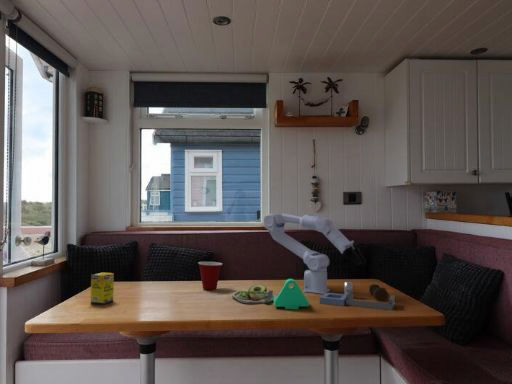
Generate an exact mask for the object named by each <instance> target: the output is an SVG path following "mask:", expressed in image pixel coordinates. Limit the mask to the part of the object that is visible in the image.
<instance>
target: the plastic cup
mask: <svg viewBox="0 0 512 384" xmlns="http://www.w3.org/2000/svg"><path fill="white" fill-rule="evenodd" d="M197 263H198V266H199V267H198V268H199V273H200V277H201V278H200V279H201V284H202V289H203V291H206V292H209V291H210V292H213V291H216V290H217V287H218V282H219V279H220V278H219V277H220V271H221V268H222V266H223V263H222V262H216V261H199V262H197Z"/></svg>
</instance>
